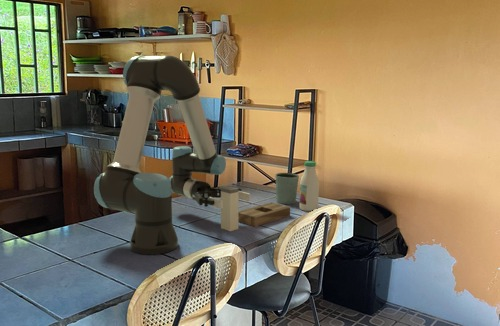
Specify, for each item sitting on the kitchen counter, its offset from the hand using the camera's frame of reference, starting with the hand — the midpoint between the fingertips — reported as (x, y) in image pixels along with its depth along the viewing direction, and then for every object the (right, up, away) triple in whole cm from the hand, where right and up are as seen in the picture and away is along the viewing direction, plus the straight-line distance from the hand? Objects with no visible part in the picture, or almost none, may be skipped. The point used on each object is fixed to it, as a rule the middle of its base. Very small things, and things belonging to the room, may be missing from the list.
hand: (236, 200), depth 173 cm
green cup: (+21, -4, +42) cm, 47 cm away
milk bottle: (+29, -6, +30) cm, 43 cm away
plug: (-2, -10, +4) cm, 12 cm away
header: (+10, -8, +17) cm, 21 cm away
